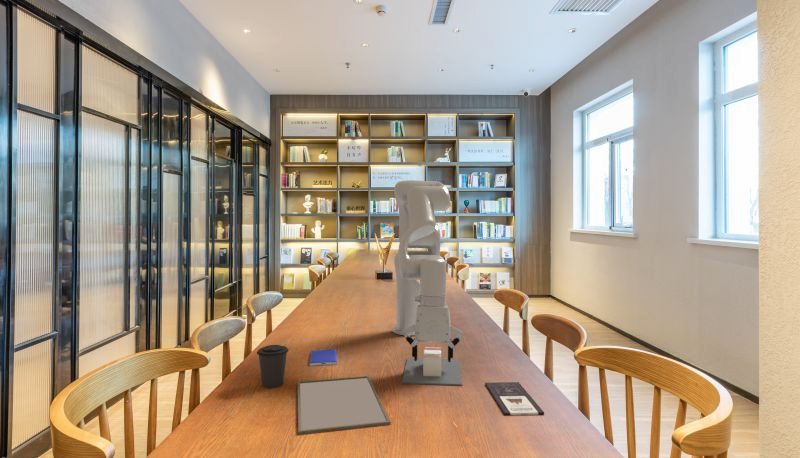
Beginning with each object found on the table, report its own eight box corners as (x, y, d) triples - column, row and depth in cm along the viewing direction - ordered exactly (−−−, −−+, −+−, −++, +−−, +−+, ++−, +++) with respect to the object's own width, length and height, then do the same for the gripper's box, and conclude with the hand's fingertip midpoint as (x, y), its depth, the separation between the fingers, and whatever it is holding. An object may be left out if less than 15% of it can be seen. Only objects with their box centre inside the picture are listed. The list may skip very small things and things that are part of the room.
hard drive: (311, 350, 141) (309, 362, 129) (336, 348, 143) (337, 361, 130) (311, 354, 141) (309, 367, 129) (336, 353, 143) (337, 366, 130)
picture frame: (390, 426, 92) (368, 379, 120) (390, 421, 92) (368, 375, 120) (298, 436, 88) (297, 385, 115) (298, 431, 88) (297, 381, 115)
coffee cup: (261, 392, 109) (261, 353, 109) (253, 382, 116) (253, 345, 116) (292, 386, 113) (292, 348, 113) (283, 376, 120) (283, 340, 120)
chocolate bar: (518, 382, 115) (544, 412, 97) (518, 385, 115) (543, 416, 97) (485, 382, 115) (504, 413, 97) (485, 386, 115) (504, 417, 97)
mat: (407, 359, 135) (407, 358, 135) (458, 360, 134) (458, 359, 134) (401, 383, 115) (401, 381, 115) (462, 385, 114) (462, 384, 114)
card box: (441, 376, 119) (441, 358, 119) (423, 376, 120) (423, 357, 120) (441, 364, 129) (441, 347, 129) (424, 363, 130) (424, 347, 130)
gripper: (401, 302, 121) (401, 363, 122) (463, 304, 120) (463, 365, 120) (403, 297, 129) (403, 355, 129) (462, 299, 127) (462, 356, 128)
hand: (432, 359), depth 125 cm, fingers open, 9 cm apart
